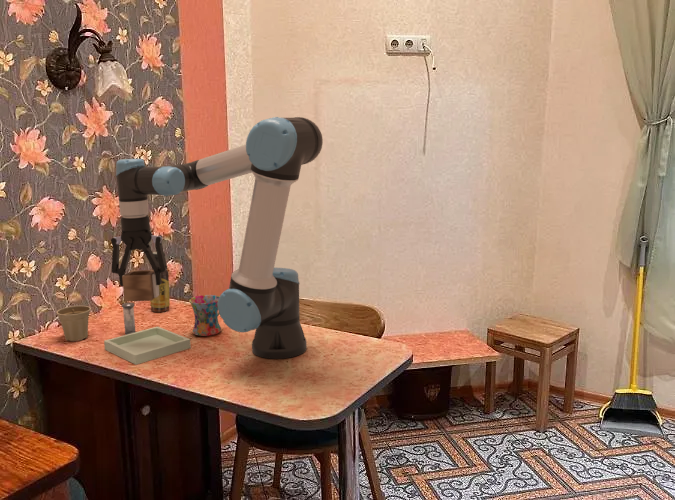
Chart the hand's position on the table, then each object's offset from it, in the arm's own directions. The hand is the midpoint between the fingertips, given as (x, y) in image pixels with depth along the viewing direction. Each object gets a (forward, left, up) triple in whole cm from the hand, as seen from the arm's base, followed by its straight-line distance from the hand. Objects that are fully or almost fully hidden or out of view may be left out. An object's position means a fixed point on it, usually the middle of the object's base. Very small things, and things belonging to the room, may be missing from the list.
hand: (142, 296), depth 186 cm
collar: (0, 0, 0) cm, 0 cm away
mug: (-4, -20, -15) cm, 25 cm away
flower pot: (+21, +10, -15) cm, 28 cm away
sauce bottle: (+27, -22, -15) cm, 38 cm away
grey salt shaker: (+13, -3, -14) cm, 20 cm away
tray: (-3, +1, -14) cm, 15 cm away
